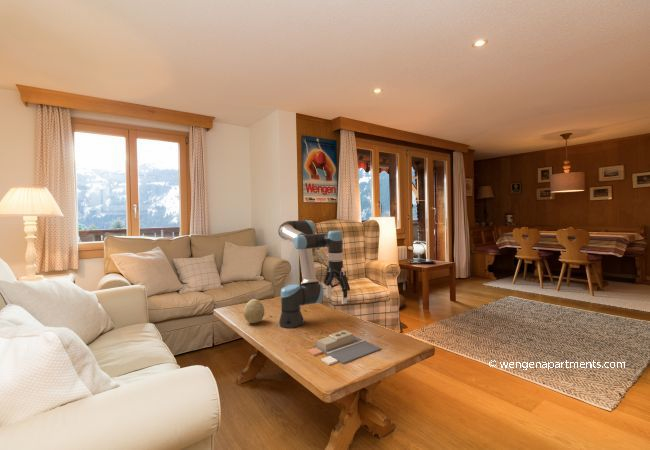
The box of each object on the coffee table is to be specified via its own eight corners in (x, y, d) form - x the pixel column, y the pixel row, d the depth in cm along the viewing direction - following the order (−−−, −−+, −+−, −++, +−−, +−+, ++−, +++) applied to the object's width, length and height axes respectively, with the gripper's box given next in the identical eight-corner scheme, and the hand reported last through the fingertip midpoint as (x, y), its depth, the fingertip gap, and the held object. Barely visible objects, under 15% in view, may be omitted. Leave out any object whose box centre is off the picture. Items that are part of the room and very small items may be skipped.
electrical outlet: (317, 338, 160) (344, 329, 171) (317, 346, 160) (344, 337, 171) (325, 342, 155) (353, 333, 165) (325, 351, 155) (353, 341, 165)
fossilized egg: (260, 318, 209) (259, 295, 209) (268, 323, 199) (267, 299, 198) (241, 322, 202) (240, 299, 202) (248, 328, 192) (247, 303, 191)
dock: (304, 349, 158) (304, 347, 158) (349, 335, 175) (349, 333, 175) (332, 367, 139) (332, 365, 139) (381, 349, 156) (381, 347, 156)
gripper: (316, 258, 175) (317, 296, 176) (344, 264, 154) (345, 307, 156) (327, 256, 179) (328, 293, 180) (356, 262, 159) (357, 304, 160)
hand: (336, 300), depth 168 cm, fingers open, 13 cm apart
